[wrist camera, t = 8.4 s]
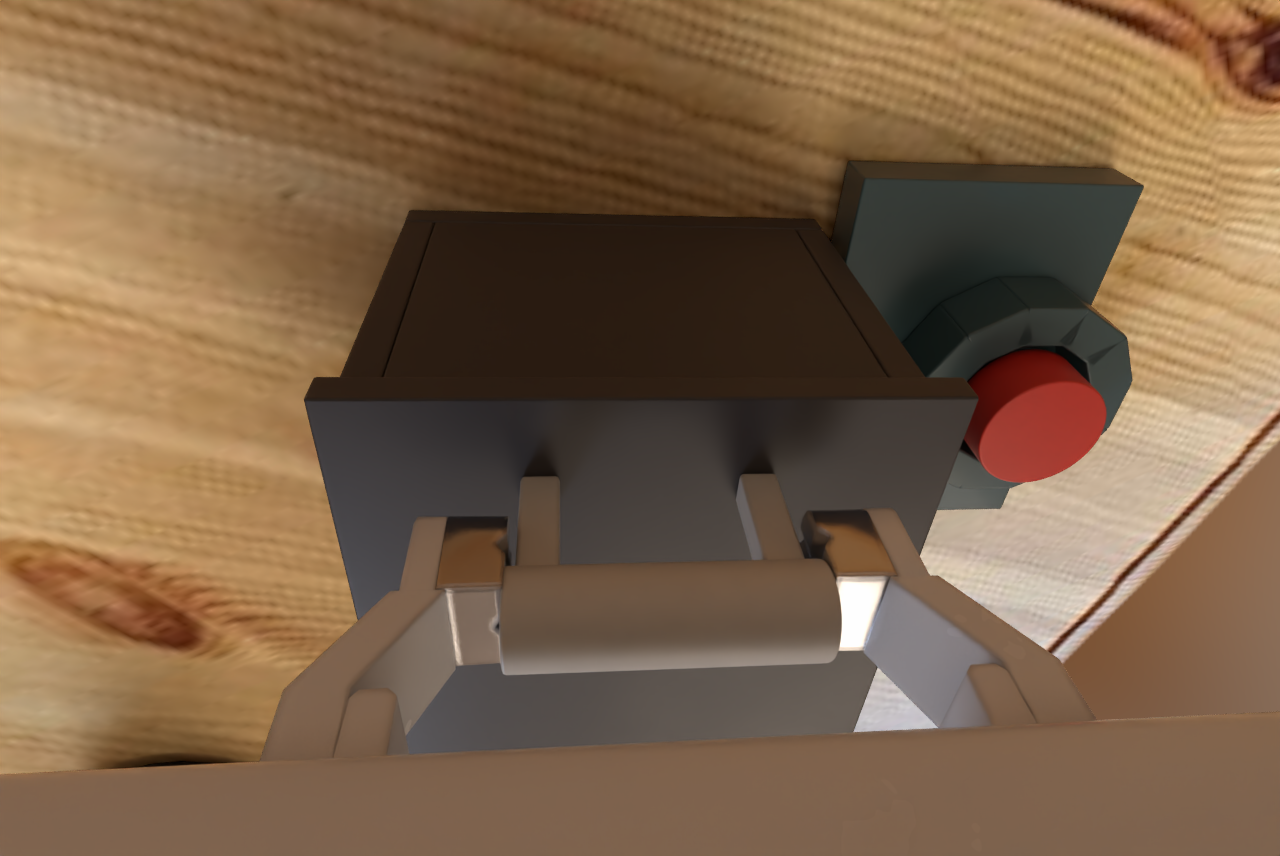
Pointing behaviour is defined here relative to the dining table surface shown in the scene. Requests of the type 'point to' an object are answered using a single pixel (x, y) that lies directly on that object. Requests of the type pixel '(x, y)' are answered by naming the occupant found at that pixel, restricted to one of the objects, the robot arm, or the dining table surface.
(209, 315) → the dining table surface
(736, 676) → the lid
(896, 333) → the control block
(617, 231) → the dark grey box
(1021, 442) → the button
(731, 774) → the robot arm
